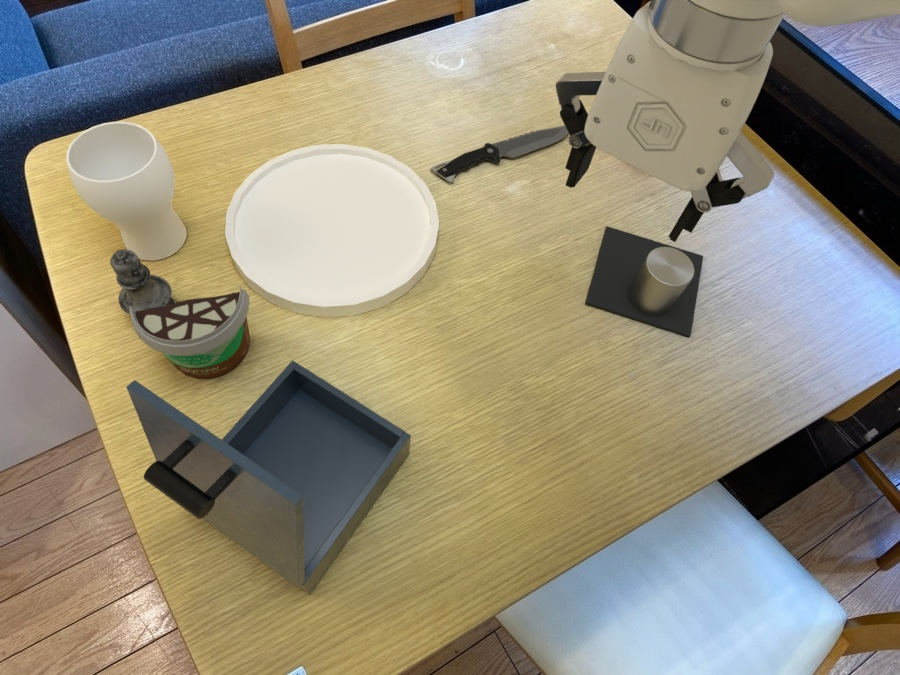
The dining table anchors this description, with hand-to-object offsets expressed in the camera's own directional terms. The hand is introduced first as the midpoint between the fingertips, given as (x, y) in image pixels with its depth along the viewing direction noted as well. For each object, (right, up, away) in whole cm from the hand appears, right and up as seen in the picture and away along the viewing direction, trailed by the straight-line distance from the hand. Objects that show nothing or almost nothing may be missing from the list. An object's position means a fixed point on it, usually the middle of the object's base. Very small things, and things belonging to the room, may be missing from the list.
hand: (626, 203), depth 53 cm
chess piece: (-51, -8, +24) cm, 57 cm away
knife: (-6, +17, +42) cm, 46 cm away
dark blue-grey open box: (-31, -27, +14) cm, 43 cm away
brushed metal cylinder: (+12, -6, +30) cm, 33 cm away
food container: (-43, -15, +21) cm, 50 cm away
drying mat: (+12, -4, +32) cm, 34 cm away
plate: (-31, +3, +32) cm, 44 cm away
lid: (-33, -24, -2) cm, 41 cm away
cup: (-54, +2, +29) cm, 61 cm away
